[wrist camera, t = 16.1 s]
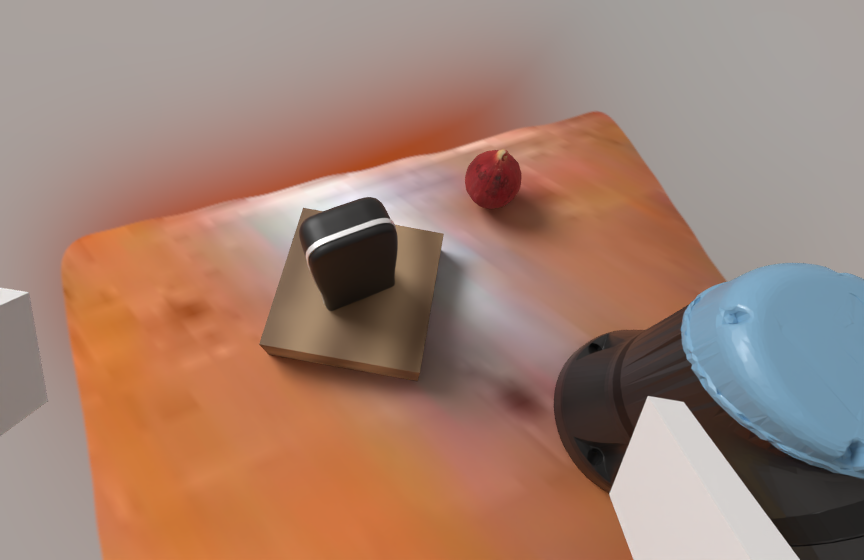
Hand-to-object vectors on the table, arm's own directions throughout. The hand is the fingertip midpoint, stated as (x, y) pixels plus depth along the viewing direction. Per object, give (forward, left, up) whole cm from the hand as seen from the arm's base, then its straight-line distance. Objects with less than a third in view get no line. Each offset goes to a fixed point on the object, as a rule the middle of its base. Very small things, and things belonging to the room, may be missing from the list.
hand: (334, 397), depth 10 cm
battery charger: (+5, -15, -30) cm, 34 cm away
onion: (-7, -29, -33) cm, 45 cm away
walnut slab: (+4, -15, -34) cm, 37 cm away
